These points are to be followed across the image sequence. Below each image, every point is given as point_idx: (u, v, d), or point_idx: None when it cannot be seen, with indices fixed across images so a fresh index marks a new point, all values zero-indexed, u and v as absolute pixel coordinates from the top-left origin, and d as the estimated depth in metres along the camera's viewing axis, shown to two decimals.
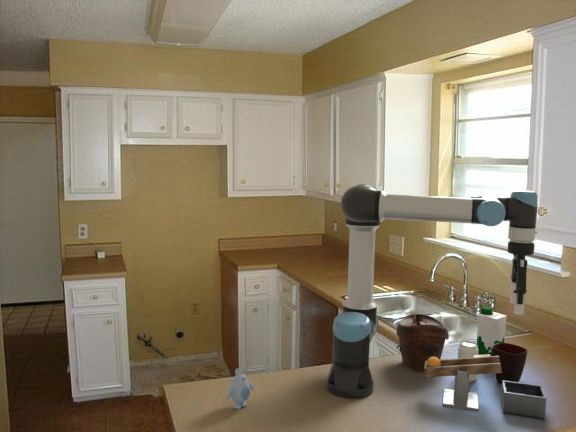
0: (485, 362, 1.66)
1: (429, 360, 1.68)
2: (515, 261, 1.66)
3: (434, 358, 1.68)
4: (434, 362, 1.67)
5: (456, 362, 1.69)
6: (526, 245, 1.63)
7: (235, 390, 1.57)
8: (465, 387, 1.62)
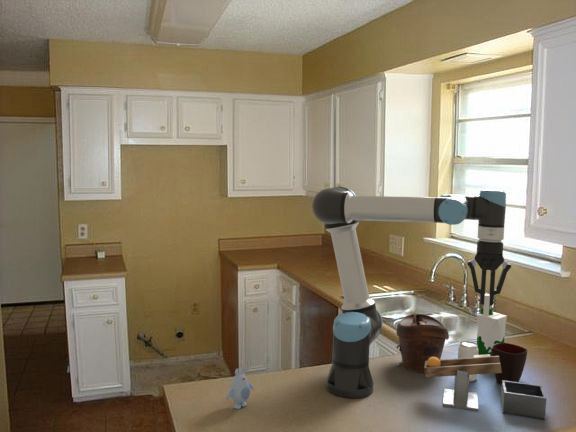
0: (485, 362, 1.66)
1: (429, 360, 1.68)
2: None
3: (434, 358, 1.68)
4: (434, 362, 1.67)
5: (456, 362, 1.69)
6: (478, 242, 1.67)
7: (235, 390, 1.57)
8: (465, 387, 1.62)
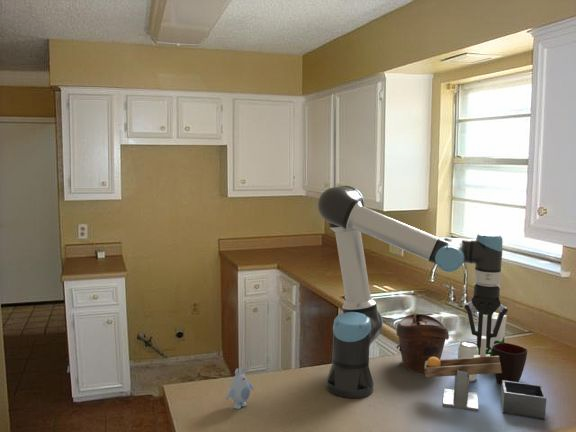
0: (485, 362, 1.66)
1: (429, 360, 1.68)
2: None
3: (434, 358, 1.68)
4: (434, 362, 1.67)
5: (456, 362, 1.69)
6: (475, 286, 1.68)
7: (235, 390, 1.57)
8: (465, 387, 1.62)
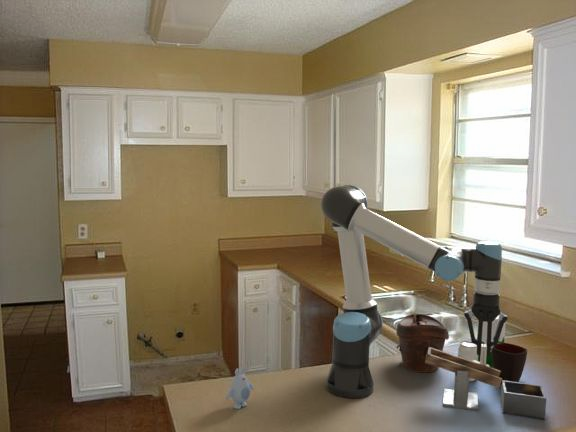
0: (485, 371, 1.67)
1: None
2: None
3: None
4: None
5: (457, 360, 1.69)
6: (474, 294, 1.68)
7: (235, 390, 1.57)
8: (465, 387, 1.62)
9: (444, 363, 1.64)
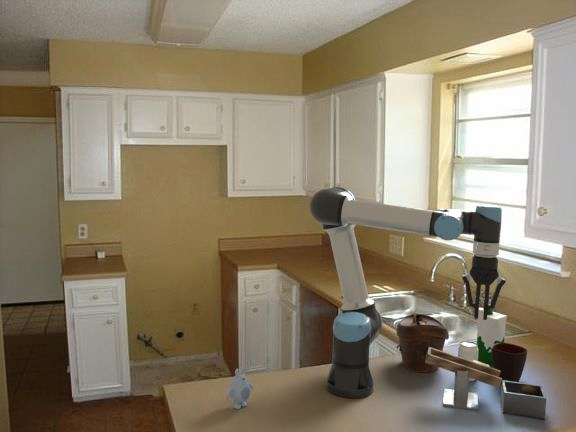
0: (485, 371, 1.67)
1: None
2: None
3: None
4: None
5: (457, 360, 1.69)
6: (473, 257, 1.68)
7: (235, 390, 1.57)
8: (465, 387, 1.62)
9: (444, 363, 1.64)
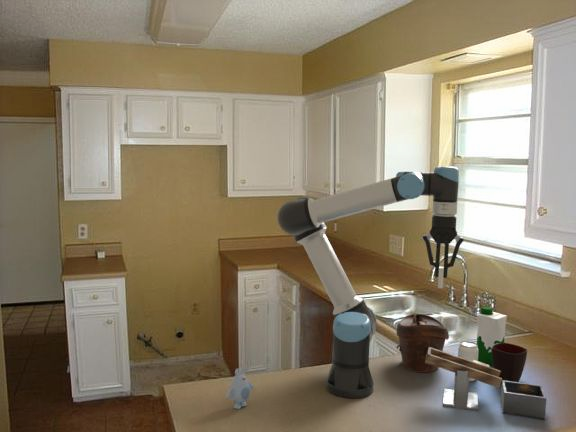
0: (485, 371, 1.67)
1: None
2: None
3: None
4: None
5: (457, 360, 1.69)
6: (432, 217, 1.74)
7: (235, 390, 1.57)
8: (465, 387, 1.62)
9: (444, 363, 1.64)
